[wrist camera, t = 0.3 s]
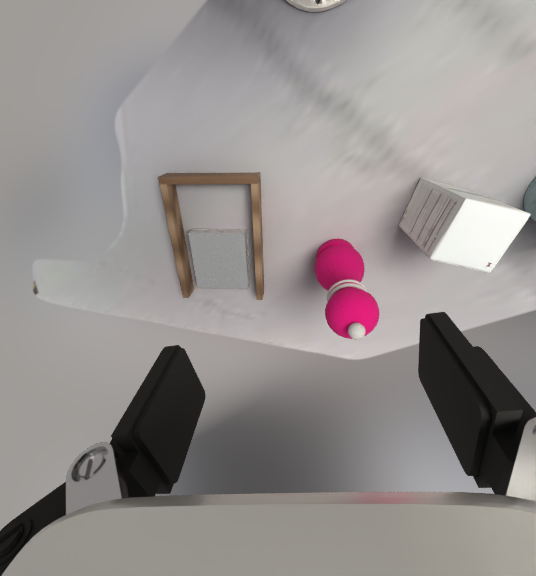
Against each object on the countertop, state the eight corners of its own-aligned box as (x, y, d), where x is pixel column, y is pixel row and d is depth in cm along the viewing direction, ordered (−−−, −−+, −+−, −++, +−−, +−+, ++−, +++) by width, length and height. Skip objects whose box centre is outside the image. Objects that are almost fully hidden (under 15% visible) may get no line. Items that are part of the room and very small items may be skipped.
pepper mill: (305, 266, 48) (310, 348, 31) (326, 228, 44) (345, 297, 27) (343, 282, 49) (369, 370, 32) (367, 246, 45) (410, 323, 28)
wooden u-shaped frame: (166, 173, 42) (158, 176, 39) (260, 172, 41) (257, 176, 38) (188, 288, 52) (183, 297, 50) (264, 290, 51) (262, 300, 48)
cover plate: (193, 227, 47) (188, 233, 44) (247, 228, 46) (244, 233, 44) (201, 280, 52) (197, 287, 49) (250, 282, 51) (248, 289, 49)
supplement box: (470, 188, 39) (536, 214, 29) (442, 237, 43) (490, 276, 32) (419, 175, 39) (467, 196, 28) (396, 225, 43) (429, 261, 32)
